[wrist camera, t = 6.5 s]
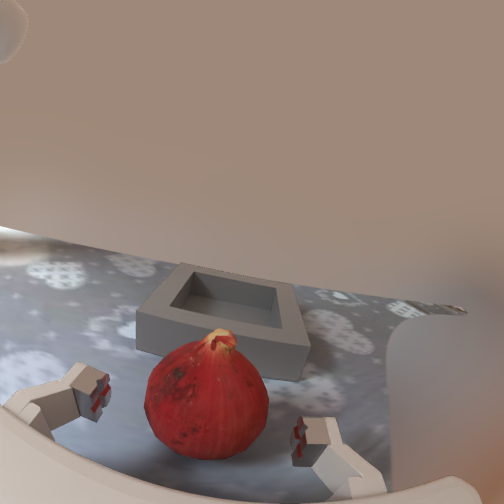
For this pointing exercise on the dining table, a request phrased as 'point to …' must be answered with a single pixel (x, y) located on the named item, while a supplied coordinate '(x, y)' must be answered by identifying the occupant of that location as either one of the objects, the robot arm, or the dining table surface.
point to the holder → (226, 318)
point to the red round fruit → (207, 399)
